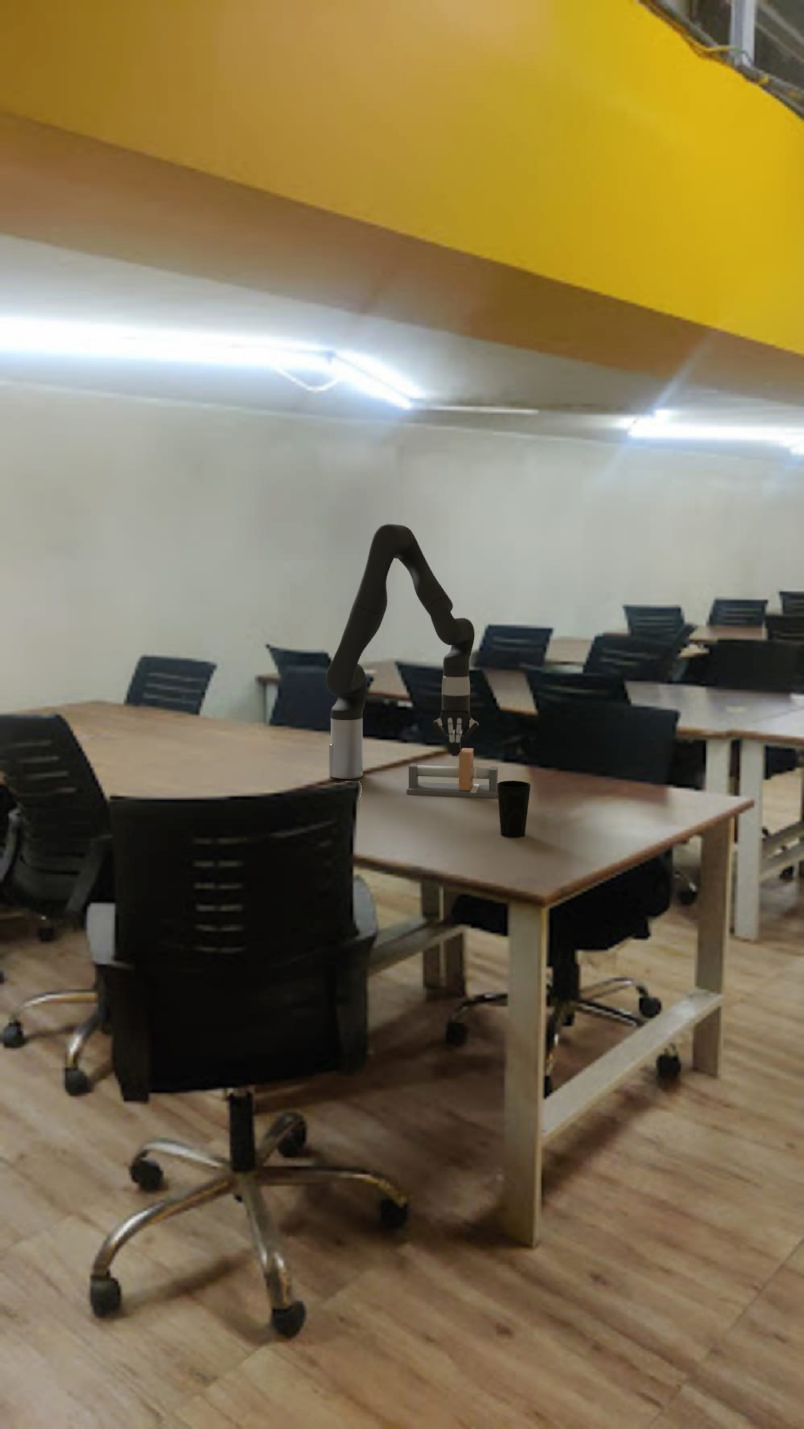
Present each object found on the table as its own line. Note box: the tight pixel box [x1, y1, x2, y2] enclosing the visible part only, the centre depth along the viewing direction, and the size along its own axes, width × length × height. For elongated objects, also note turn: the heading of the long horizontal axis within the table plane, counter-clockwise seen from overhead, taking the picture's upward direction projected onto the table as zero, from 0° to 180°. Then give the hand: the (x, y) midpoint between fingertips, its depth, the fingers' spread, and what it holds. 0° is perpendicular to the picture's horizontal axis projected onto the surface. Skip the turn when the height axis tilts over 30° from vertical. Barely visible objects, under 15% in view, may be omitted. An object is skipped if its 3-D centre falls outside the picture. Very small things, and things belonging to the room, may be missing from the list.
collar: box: [458, 747, 474, 790], centre depth 279 cm, size 3×8×10 cm, turn 170°
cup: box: [497, 780, 532, 839], centre depth 238 cm, size 8×8×12 cm
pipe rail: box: [406, 763, 499, 799], centre depth 280 cm, size 24×10×7 cm, turn 80°
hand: (455, 755), depth 279 cm, fingers closed
